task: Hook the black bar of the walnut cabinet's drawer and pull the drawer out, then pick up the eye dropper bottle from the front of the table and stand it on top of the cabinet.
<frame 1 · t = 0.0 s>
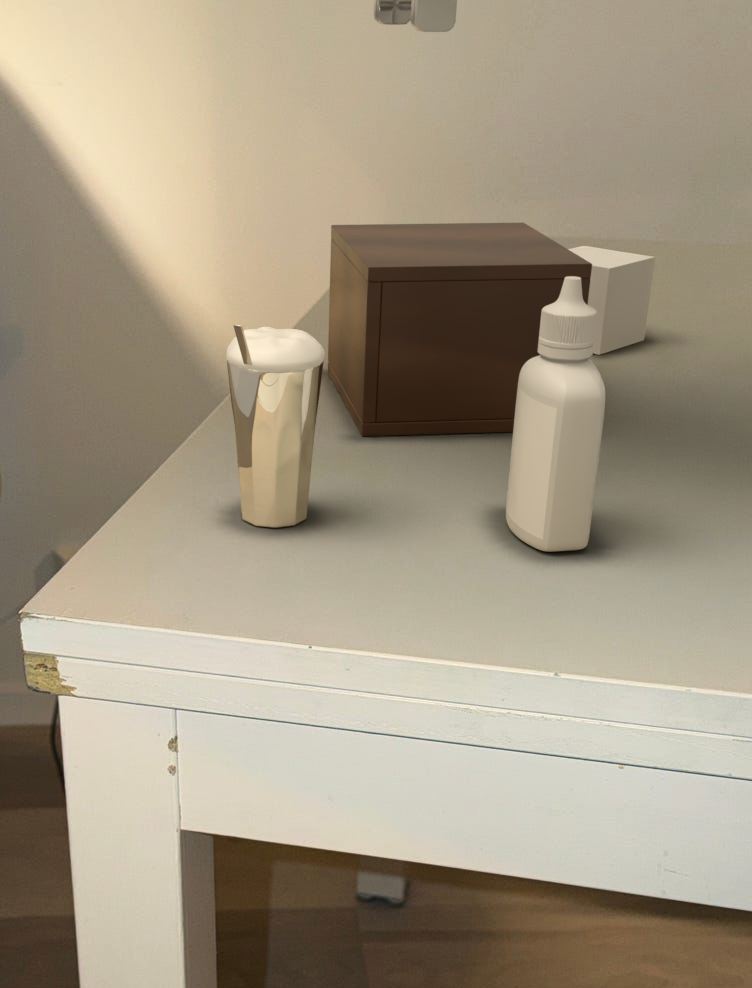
hand: (411, 27, 64), 21 cm above the table, tool pointing down, fingers open, 8 cm apart
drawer: (430, 306, 84), point 5 cm above the table, slide at 0.5 cm
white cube: (586, 342, 96), on the table
milkshake: (269, 522, 64), on the table
eye dropper bottle: (544, 536, 63), on the table
cabinet: (442, 399, 82), on the table
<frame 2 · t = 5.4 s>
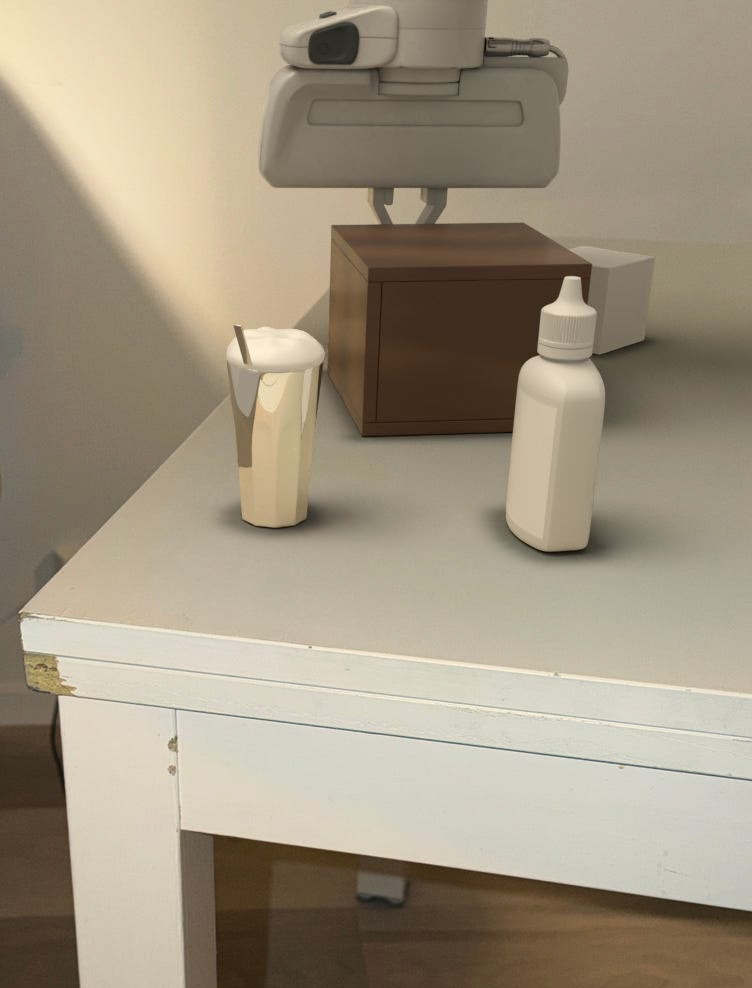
hand: (402, 255, 91), 6 cm above the table, tool pointing down, fingers closed, pressing on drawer
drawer: (425, 301, 85), point 5 cm above the table, slide at 2.0 cm, touching gripper
everything else where it was.
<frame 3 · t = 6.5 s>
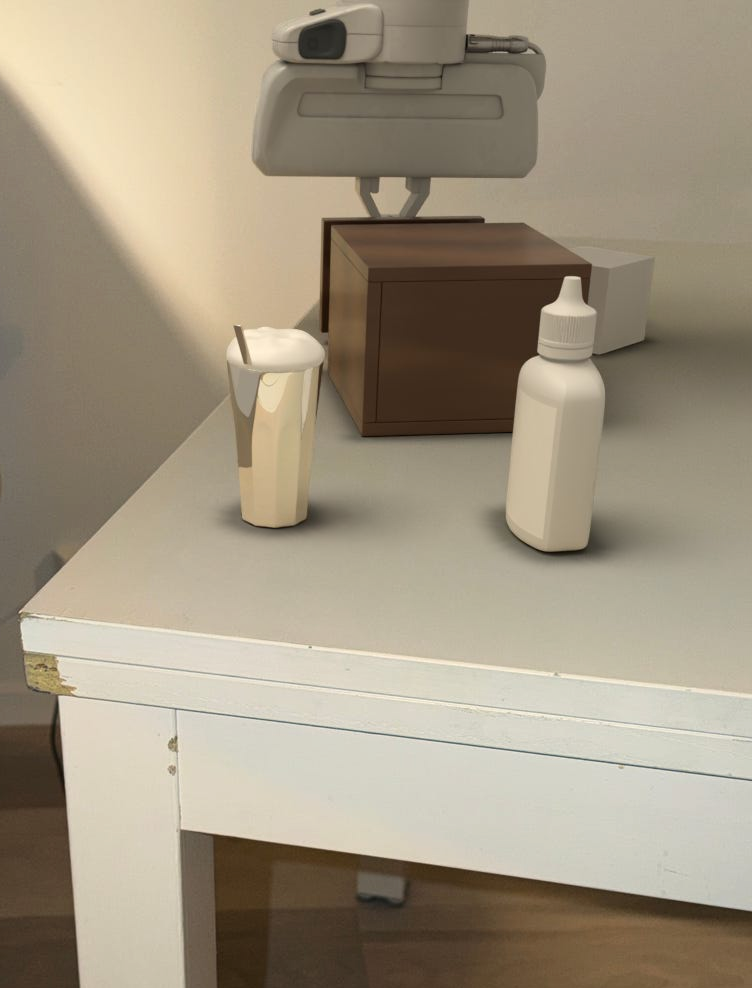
hand: (388, 241, 95), 6 cm above the table, tool pointing down, fingers closed, pressing on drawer
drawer: (409, 284, 90), point 5 cm above the table, slide at 7.2 cm, touching gripper
everything else where it was.
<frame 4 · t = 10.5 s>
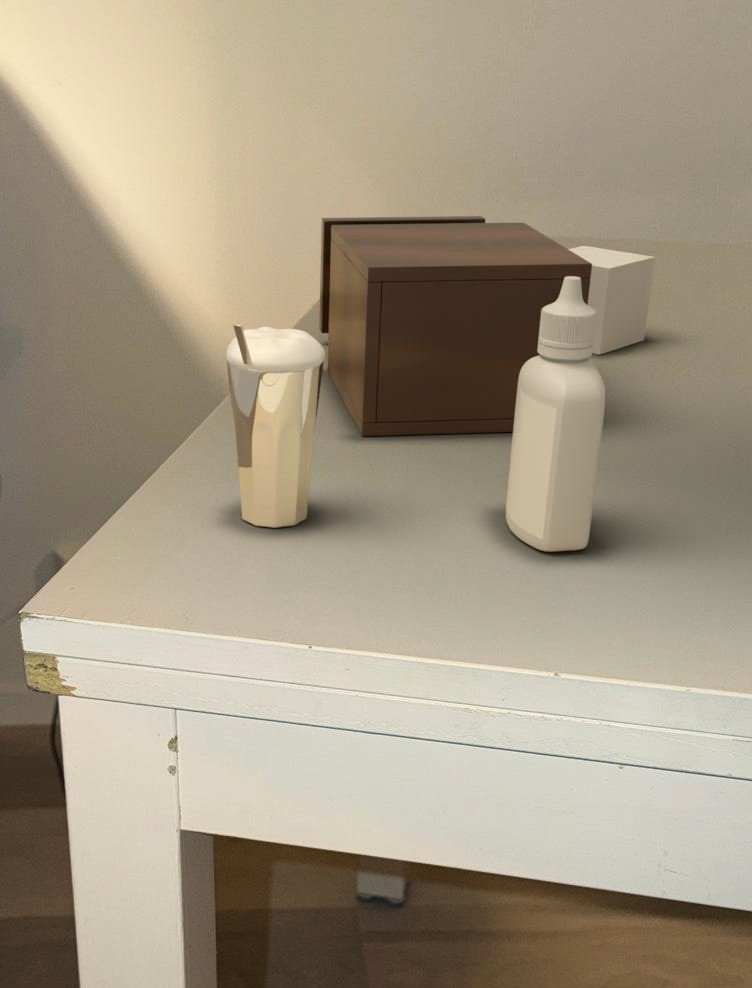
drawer: (409, 284, 90), point 5 cm above the table, slide at 7.1 cm
everything else where it was.
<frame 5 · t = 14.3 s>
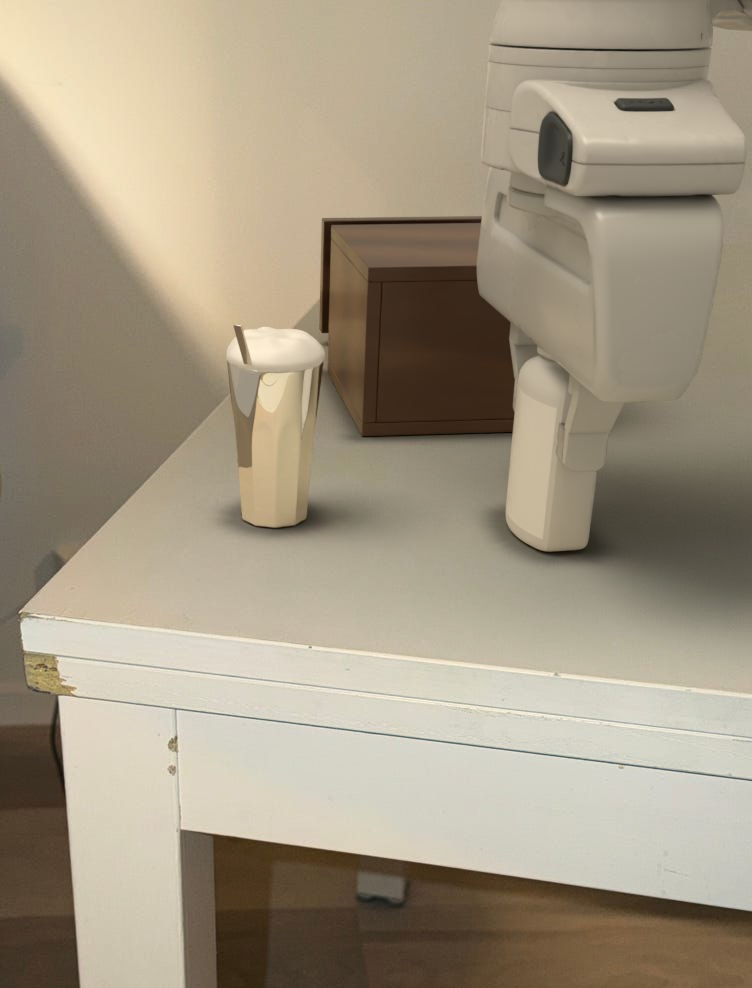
hand: (555, 441, 61), 5 cm above the table, tool pointing down, fingers closed on eye dropper bottle, 5 cm apart
eye dropper bottle: (544, 536, 63), on the table, touching gripper
everything else where it was.
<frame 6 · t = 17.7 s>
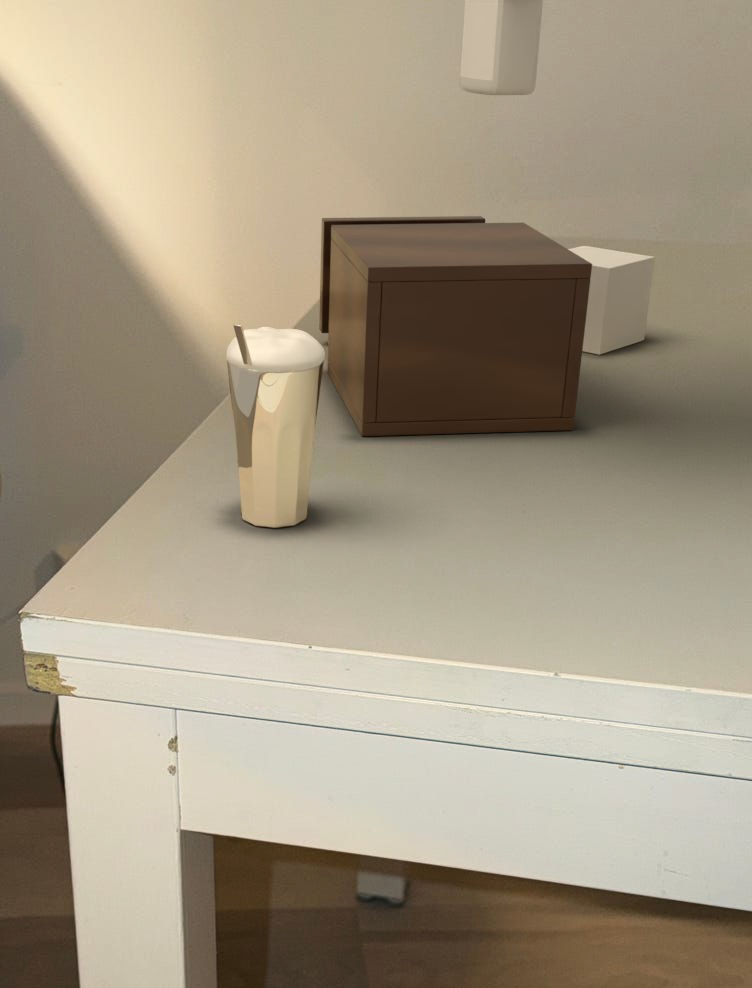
eye dropper bottle: (496, 96, 68), point 18 cm above the table, touching gripper
everything else where it was.
when the fingers open (14 cm above the table, at t = 21.4 s): eye dropper bottle stays where it is, resting on cabinet.
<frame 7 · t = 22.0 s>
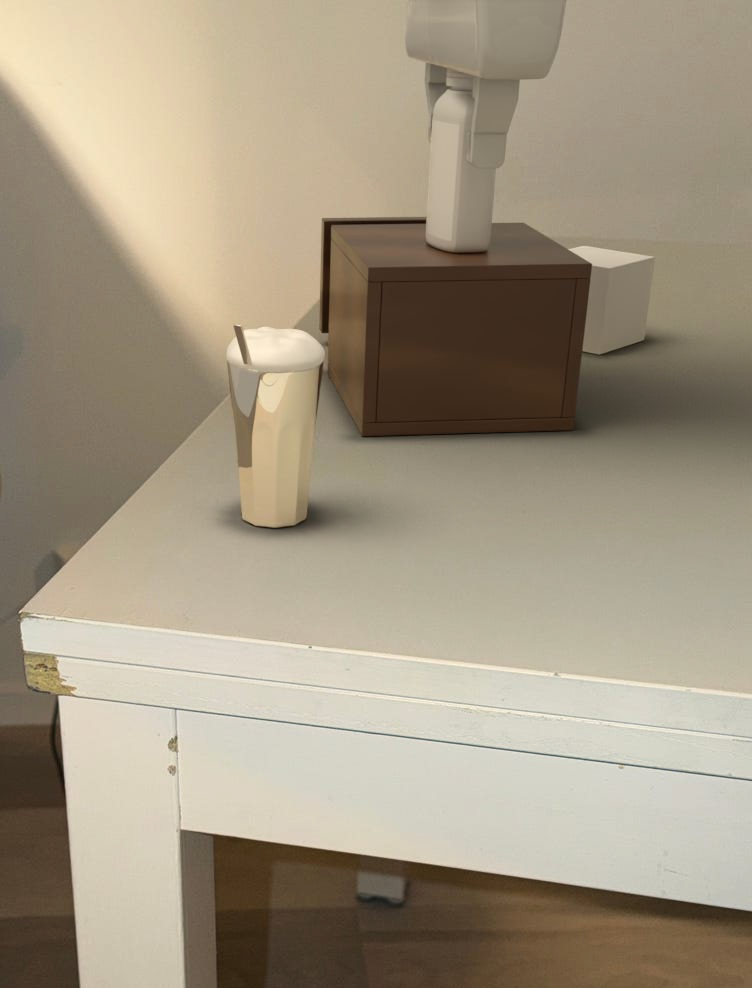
hand: (463, 156, 75), 15 cm above the table, tool pointing down, fingers open, 8 cm apart
eye dropper bottle: (456, 249, 77), point 9 cm above the table, touching cabinet
everything else where it was.
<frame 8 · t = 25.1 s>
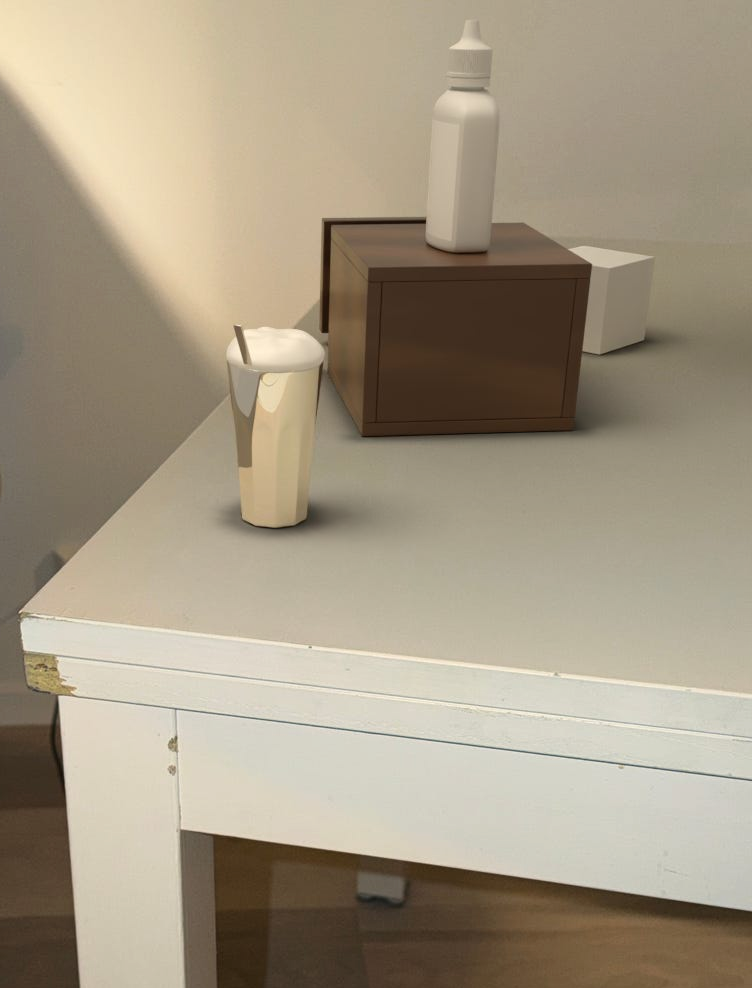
nothing on the table moved.
at the end: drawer slide at 7.1 cm; eye dropper bottle inside the target area on the cabinet (1.0 cm from its centre), point 9.4 cm above the cabinet's base; eye dropper bottle tilted 0° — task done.
